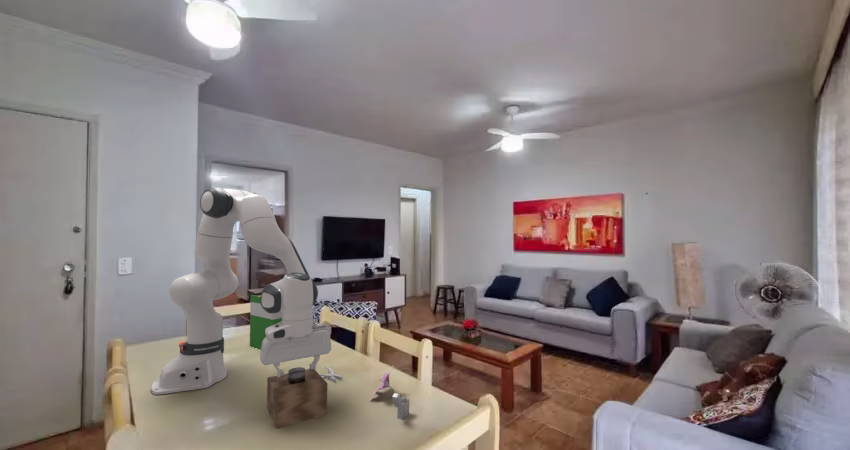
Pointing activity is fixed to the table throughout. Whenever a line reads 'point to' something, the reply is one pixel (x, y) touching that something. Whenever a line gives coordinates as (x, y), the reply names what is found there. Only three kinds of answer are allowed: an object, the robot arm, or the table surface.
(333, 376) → the grey branched figurine
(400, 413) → the lighter
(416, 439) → the table surface
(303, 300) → the robot arm
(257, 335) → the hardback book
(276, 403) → the block
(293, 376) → the pin
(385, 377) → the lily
